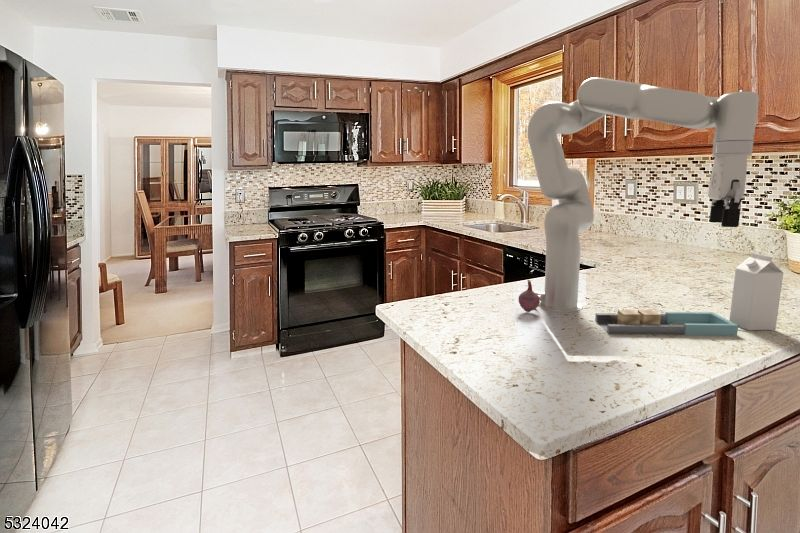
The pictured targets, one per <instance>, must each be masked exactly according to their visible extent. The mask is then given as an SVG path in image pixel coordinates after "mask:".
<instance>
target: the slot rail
mask: <svg viewBox="0 0 800 533" xmlns="http://www.w3.org/2000/svg"><path fill="white" fill-rule="evenodd" d="M660 314H661V320H660V325H636V324H617V318H618V312H615V313H611V312H610V313H609V312H608V313H606V312H605V313H603V312H602V313H601V312H600V313H599V312H596V313H595V318H594V320H595V322H596V323H597V324H598V325H600V327H601V328H602V329H603V330H604V331H605V332H606V334H608V335H655V336H656V335H659V336H660V335H662V336H663V335H666V336H667V335H668V336H669V335H671V336H672V335H673V336H674V335H675V336H676V335H677V336H686V335H685V331H686V327H685V326H684V324H670V323H667V321H668V315H666V314H665V313H660Z"/></svg>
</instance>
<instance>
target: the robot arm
mask: <svg viewBox="0 0 800 533" xmlns="http://www.w3.org/2000/svg"><path fill="white" fill-rule="evenodd" d="M576 98H577V99H576V100H574V101H573V102H571V103H566V102H561V101H549V102H545V103H543V104H542V105H540V106H539V107H537V109H536V110H535V111H534V113H533V114H532V115H531V118H530V119H529V122H528V126H527V140H528V144H529V148H530V150H531V155H532V158H533V161H534V162H533V163H534V167H535V172H536V176H537V178H538V184H539V188H540V191H541V193H542V195H543V196H544V197H545V198H546V199H548V200H552V201H553V200H555V201H556V200H557V201H558V203H557V204H556V205H554V206H552V207H551V208H549V209H548V211H547V213H546V214H545V217H544V221H543V222H544V223H543V224H544V232H545V274H544V275H545V277H544V291H543V292H540V291H534V292H535V293H536V294H537V295H538V296H539V299H540V303H539V305H538V307H539V308H542V309H544V310H547V311H552V312H559V313H560V312H561V313H575V312H580V311H581V310H583V309H584V306H583V305H582V304H581V303H579V301H578V298H579V284H580V283H579V282H580V281H579V280H580V264H581V262H580V261H581V260H580V259H581V242H580V236H579V234H581V233H584V232H585V231H588V229H589V228H591V227H592V224H593V222H594V217H595V215H594V209H593V204H592V201H591V197H590V193H589V188H588V185H587V181H586V178H585V176H584V174H582V172H581V171H580V170H579V169H577V168H575V167H571V166H568V165H567V160H566V157H565V153H564V152H565V151H564V149H563V147H562V145H561V142H560V141H559V138H558V135H559V134H560V135H572V134H575V133H577V132H580V131H581V130H583V129H585V128H587V127H588V126H590V125H592V124H593V123H595V122H597V121H598V120H600V119H602V118H604V117H605V116H606V115H609V116H614V117H615V116H616V117H620V118H625V119H626V118H627V119H628V120H629V119H631V120H636V121H637V120H646V121H653V122H659V123H664V124H666V125H672V126H678V127H683V128H687V129H690V130H691V129H692V130H705V129H711V128H715V129H714V134H713V135H714V136H713V144H712V154H711V156H712V158H713V157H714V160H713V163H712V168H711V174H710V178H709V186H708V193H707V196H708V198H709V199H711V200H712V201H711V202H710V203H711V205H710V211H709V212H710V214H709V222H710V223H719V224H720V223H721V226H720V227H723V228H738V227H739V225H740V216H741V210H742V202H743V198H744V195H745V191H746V190H745V189H746V181H747V180H746V179H747V167H748V156H749V157H752V156H753V148H754V140H755V132H756V125H757V124H756V123H757V117H758V111H759V110H758V109H759V102H760V98H759V95H758V93H756V92H755V91H736V92H730V93H725V94H723V95H721V96H720V97H719V96H718V97H717V96H715V97H714V96H709V95H705V94H703V93H700V92H695V91H689V90H680V89H675V88H674V89H673V88H669V87H660V86H655V85H654V86H653V85H651V84H645V83H638V82H631V81H625V80H620V79H619V80H618V79H611V78H605V77H597V76H596V77H590V78H588V79H586V80H584V81H583V82H582V83H581V84H580V86H579V87H578V89H577V94H576ZM589 230H590V229H589Z"/></svg>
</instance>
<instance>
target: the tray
mask: <svg viewBox="0 0 800 533" xmlns="http://www.w3.org/2000/svg"><path fill="white" fill-rule="evenodd" d="M664 314H666V315H668V321H667V323H668V324H670V323H673V324H674V323H676V324H677V323H679V324H680V323H681V324H683V325H684V326H685V327H686V331H685V335H684V336H738V330H739V326H738V325H736V324H735V323H733V322H731V321H729V320H730V319H726V318H725V317H723V316H721V315H719V314H717V313H715V312H712V311H711V312H710V311H709V312H708V311H707V312H705V311H703V312H701V311H699V312H698V311H694V312H692V311H689V312H688V311H665V313H664Z"/></svg>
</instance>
